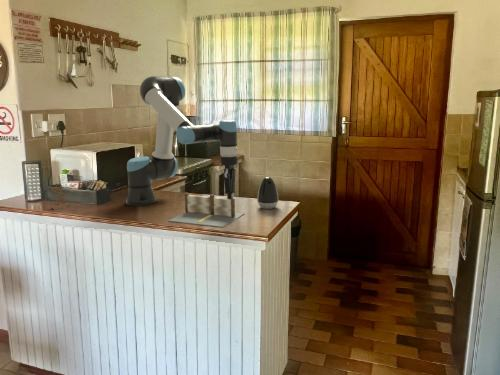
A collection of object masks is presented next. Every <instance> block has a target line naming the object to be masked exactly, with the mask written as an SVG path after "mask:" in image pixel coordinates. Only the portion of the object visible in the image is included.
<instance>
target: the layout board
mask: <svg viewBox="0 0 500 375" xmlns="http://www.w3.org/2000/svg"><path fill="white" fill-rule="evenodd" d="M242 216H245V213H243V212H235V217H229V216H223V215H216V214H215V215H211V214H209V215H204V214H194V213H187V212H183V213H181V214H179V215H177V216H174V217H172V218H171V219H168V220H167V222H170V223H179V224H189V225H196V226H204V227H214V228H222V229H223V228H225V227H226V226H228V225H230V224H231V223H233V222H235V221H236V220H237V219H240V218H241V217H242Z"/></svg>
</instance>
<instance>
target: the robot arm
mask: <svg viewBox="0 0 500 375" xmlns="http://www.w3.org/2000/svg"><path fill="white" fill-rule="evenodd" d="M139 94H140V97H141V100H142V101H143V103H145V104H146V105H147V106H148V107H152V108H153V110H155V111H156V113H157V121H156V122H157V123H156V124H157V125H156V135H155V146H154V148H155V149H154V151H153V152H152V153H151V157H149V156H137V157H133V158H130V159H129V160H128V161H127V163H126V171H127V172H126V173H127V182H128V183H127V184H128V190H127V196H126V198H125V200H126V201H125V202H126V205H128V206H131V207H132V206H133V207H139V206H140V207H143V206H149V205H153V204H155V203H157V197H156V195H155V193H154V192H155V191H154V189H153V184H152V183H153V181H161V180H167V179H170V178H172V177H174V176H175V175H176V174H177V172H178V168H179V164H178V161H177V159H176V157H175V154H174V153H173V152H172V151H173V141H174V133H175V138H176V139H177V141H178V143H179V144H181V145H193V144H198V143H207V142H208V143H209V142H219V150H220V151H219V152H220V153H219V154H220V165H221V166H224V169H223V173H222V177H223V184H224V190H225V191H224V194H225V195H226V199H235V198H234V196H235V195H234V193H236V191H235V190H236V171H237V169H236V168H235V165H236V166H237V165H238V161H239V159H238V151H239V148H238V128H237V122H236V121H235V120H233V119H229V120H228V119H226V120H225V119H224V120H220V121H219V122H218V124H215V123H214V124H213V123H205V124H202V125H199V124H198V125H194V124H193V123H192V122H191V121H190V120H189V119H188V118H187V117H186V116H185V115H184V114H183V113H182V112H181V111H180V110H179V109H178V107H179V106H180V101H182V100H184V98H185V96H186V88H185V85H184V83H183V80H182V79H181V78H179V77H176V76H154V75H152V76H147V78H145V79H144V80H143V81H142V82H141V84H140V86H139ZM174 131H175V132H174Z"/></svg>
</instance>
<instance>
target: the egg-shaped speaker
mask: <svg viewBox="0 0 500 375" xmlns="http://www.w3.org/2000/svg"><path fill="white" fill-rule="evenodd" d="M276 186H277V185H276V183H275V181H274V179H273V178H272V177H270V176H266V177H263V178H262V180H261V181H260V184H259V187H258V192H257V198H256V201H257V204H258V206H259V207H260V208H262V209H264V210H272V209H274V208H275V207H277V205H278V202H279V194H278V189H277V187H276Z"/></svg>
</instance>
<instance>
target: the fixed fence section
mask: <svg viewBox="0 0 500 375" xmlns="http://www.w3.org/2000/svg"><path fill="white" fill-rule="evenodd" d="M214 198H215V194H214V193H213V194H209V196H203V195H193V194H192V195H191V194H190V193H189V192H184V207H185V208H184V209H185V212H187V213H194V214H204V215H209V214H211V215H215V214H214ZM185 212H184V213H185Z"/></svg>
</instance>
